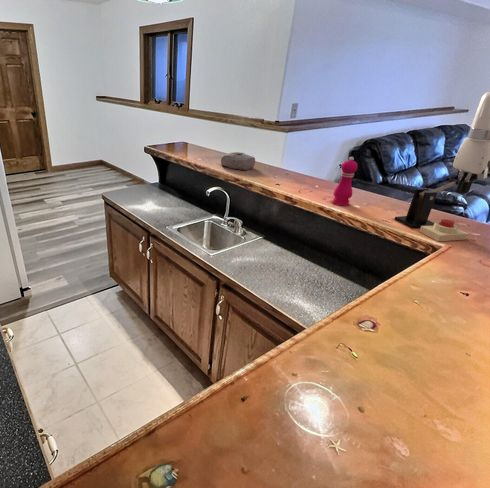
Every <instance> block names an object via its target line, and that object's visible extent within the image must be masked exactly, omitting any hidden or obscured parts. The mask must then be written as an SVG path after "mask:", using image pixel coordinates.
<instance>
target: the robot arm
mask: <svg viewBox="0 0 490 488" xmlns="http://www.w3.org/2000/svg"><path fill="white" fill-rule="evenodd" d="M477 106H478V107H477V109H476V112H475V115H474V116H473V117H474V118H473V120H472V122H471V125H470V128H469V131H468V133H467V136H466V137H464V139H463V141H462V142H461V144H460V147H459V148H458V150H457V151H456V155H455V157H454V161H453V164H452V167H453V168H452V172H454V173H455V174H457V176H458V177H457V179H458V181H459V183H458V185H456V188H455V193H458V194H462V195H463V194H468V193H469V191H470V190H471V188H472V184H473V183H475V182H476V181H477V180H482V179H488V174H489V175H490V91H487V92H484V94H482V96H481V98H480V100H479V103H478V105H477Z"/></svg>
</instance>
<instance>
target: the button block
mask: <svg viewBox="0 0 490 488" xmlns="http://www.w3.org/2000/svg"><path fill="white" fill-rule="evenodd" d="M440 222H441V220H440V221H439V220H437V221H434V222H433V223H434V225H431V226H421V228H419V231H418V232H419V233H421V234H423V235H424V236H427V237H429V238H431V239H432V240H435V241H436V242H449V241H462V240H463V241H464V240H465V241H466V240H467V239H468V236H469V233H468V232H466V231H463V230H461V229H459V226H458V225H456V224H454V225H453V227H451V228H450V227H444V226H441V225H440Z"/></svg>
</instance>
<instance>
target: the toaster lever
mask: <svg viewBox="0 0 490 488" xmlns="http://www.w3.org/2000/svg"><path fill="white" fill-rule="evenodd" d="M459 181H460V180H457V179H455V178H449V179H448V183H446V184H444V185H442V186H439V187H437V188H434V189H432V190H428V191H427V190H425V191H423V192H420V193H419V199H421V200H422V198H423V195H424V193H425V192H437V193H440V192H442V191H444V190H447V189H449V188H451V187H453V186H458V183H459Z"/></svg>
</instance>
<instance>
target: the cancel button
mask: <svg viewBox="0 0 490 488" xmlns="http://www.w3.org/2000/svg"><path fill="white" fill-rule="evenodd" d="M440 221H441V222H440V225H441V226H444V227H450V228H451V227H453V225H455V222H454V221H453V220H450V219H445V218H443V219H441V220H440Z"/></svg>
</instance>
